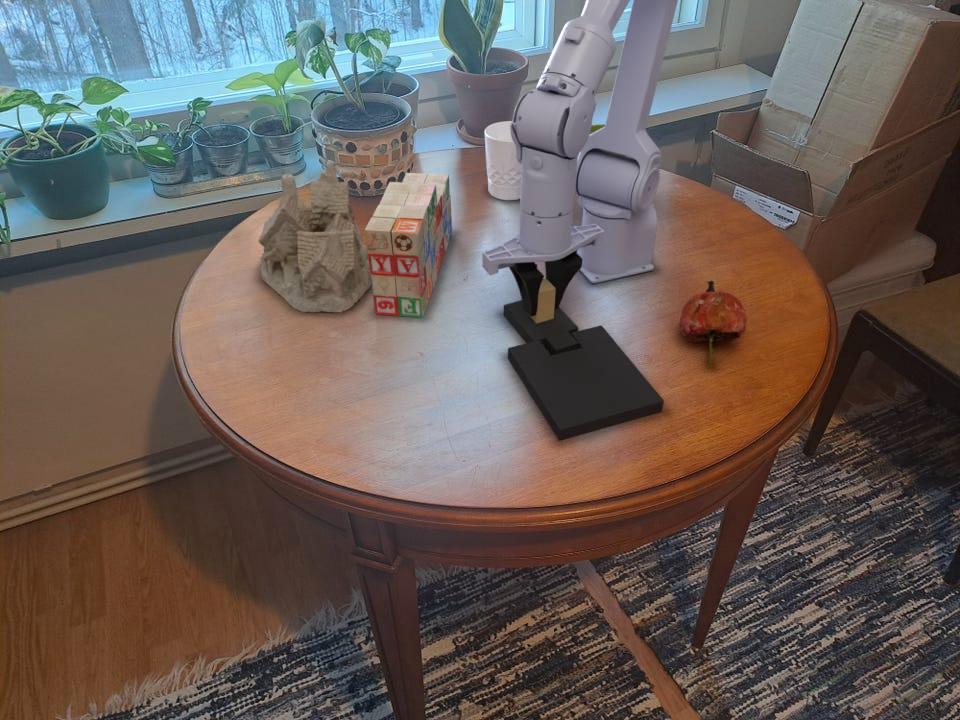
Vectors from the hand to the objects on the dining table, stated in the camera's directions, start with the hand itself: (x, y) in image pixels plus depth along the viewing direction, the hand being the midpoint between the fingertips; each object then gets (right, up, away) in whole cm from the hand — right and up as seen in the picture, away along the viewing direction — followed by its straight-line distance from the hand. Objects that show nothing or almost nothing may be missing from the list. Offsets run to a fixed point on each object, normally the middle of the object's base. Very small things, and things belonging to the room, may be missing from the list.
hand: (540, 308), depth 85 cm
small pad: (+1, -3, +1) cm, 3 cm away
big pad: (+4, -9, -6) cm, 12 cm away
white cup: (-3, +21, +29) cm, 36 cm away
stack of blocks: (-16, +6, +12) cm, 21 cm away
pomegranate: (+20, -4, -1) cm, 20 cm away
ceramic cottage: (-30, +5, +11) cm, 32 cm away
